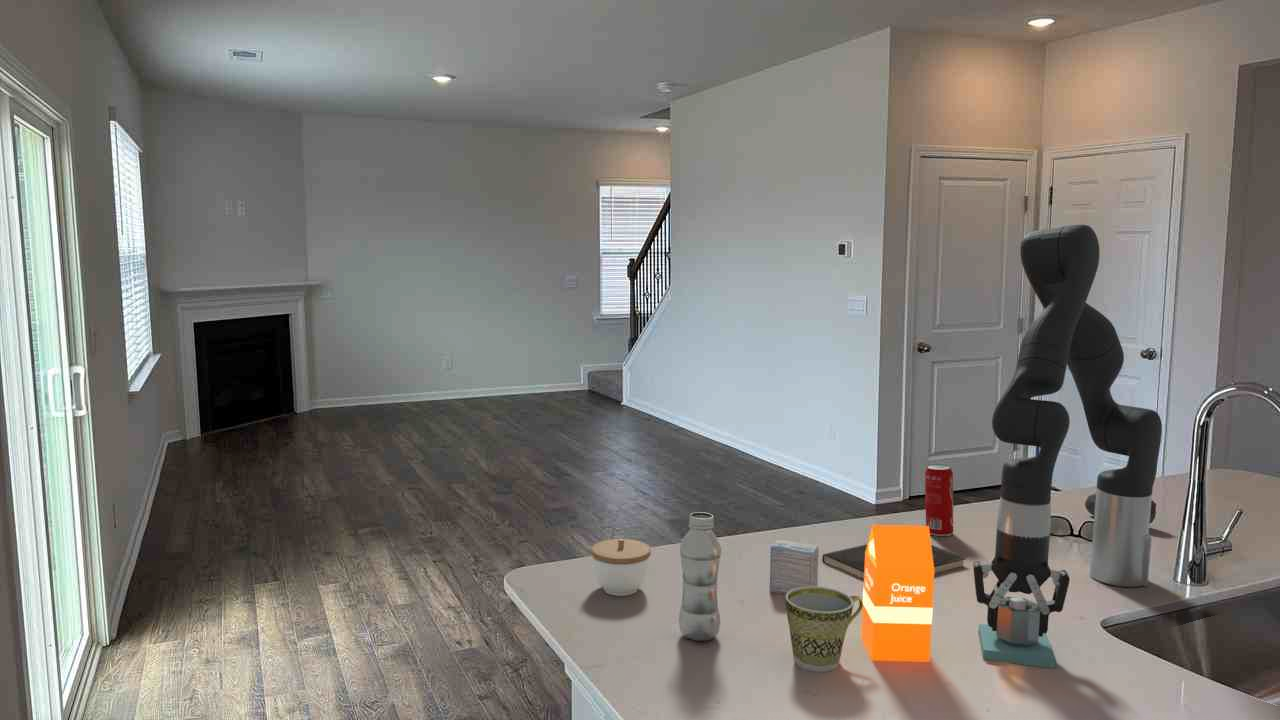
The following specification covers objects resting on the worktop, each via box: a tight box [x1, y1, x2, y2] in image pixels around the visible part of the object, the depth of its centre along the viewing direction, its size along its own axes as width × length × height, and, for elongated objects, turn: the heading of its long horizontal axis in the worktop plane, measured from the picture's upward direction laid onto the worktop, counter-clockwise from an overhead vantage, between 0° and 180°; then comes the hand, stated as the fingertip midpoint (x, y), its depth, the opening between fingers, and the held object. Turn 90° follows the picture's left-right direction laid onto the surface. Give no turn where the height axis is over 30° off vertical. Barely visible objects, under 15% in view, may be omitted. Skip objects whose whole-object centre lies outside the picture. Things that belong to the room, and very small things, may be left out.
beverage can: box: [924, 463, 954, 537], centre depth 196 cm, size 6×6×15 cm
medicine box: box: [769, 539, 820, 595], centre depth 162 cm, size 8×4×9 cm, turn 65°
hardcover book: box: [821, 543, 967, 579], centre depth 178 cm, size 16×23×2 cm
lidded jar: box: [590, 538, 652, 597], centre depth 162 cm, size 11×11×9 cm
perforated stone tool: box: [1084, 493, 1157, 525], centre depth 206 cm, size 15×5×7 cm, turn 37°
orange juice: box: [860, 524, 935, 663], centre depth 138 cm, size 8×9×20 cm
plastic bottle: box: [678, 511, 722, 642], centre depth 142 cm, size 6×7×20 cm
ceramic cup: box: [784, 586, 863, 673], centre depth 135 cm, size 13×10×10 cm
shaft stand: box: [978, 597, 1056, 669], centre depth 140 cm, size 10×10×8 cm
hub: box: [995, 596, 1040, 645], centre depth 140 cm, size 6×6×5 cm
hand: (1016, 631), depth 140 cm, fingers closed on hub, 6 cm apart
